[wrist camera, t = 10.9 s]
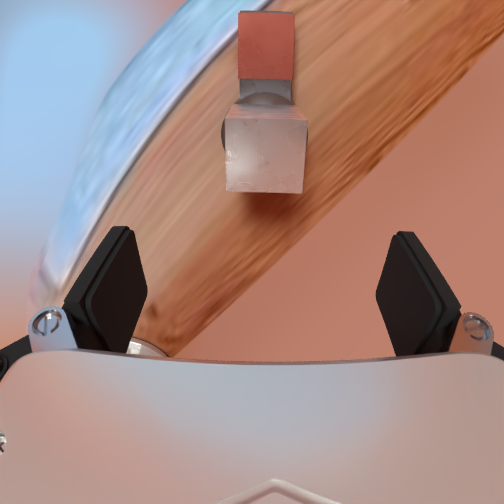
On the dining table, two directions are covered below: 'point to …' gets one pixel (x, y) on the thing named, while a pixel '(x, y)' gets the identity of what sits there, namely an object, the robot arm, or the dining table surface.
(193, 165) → the dining table surface
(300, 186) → the brushed aluminum cube
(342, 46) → the dining table surface
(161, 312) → the dining table surface
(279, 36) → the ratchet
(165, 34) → the dining table surface
